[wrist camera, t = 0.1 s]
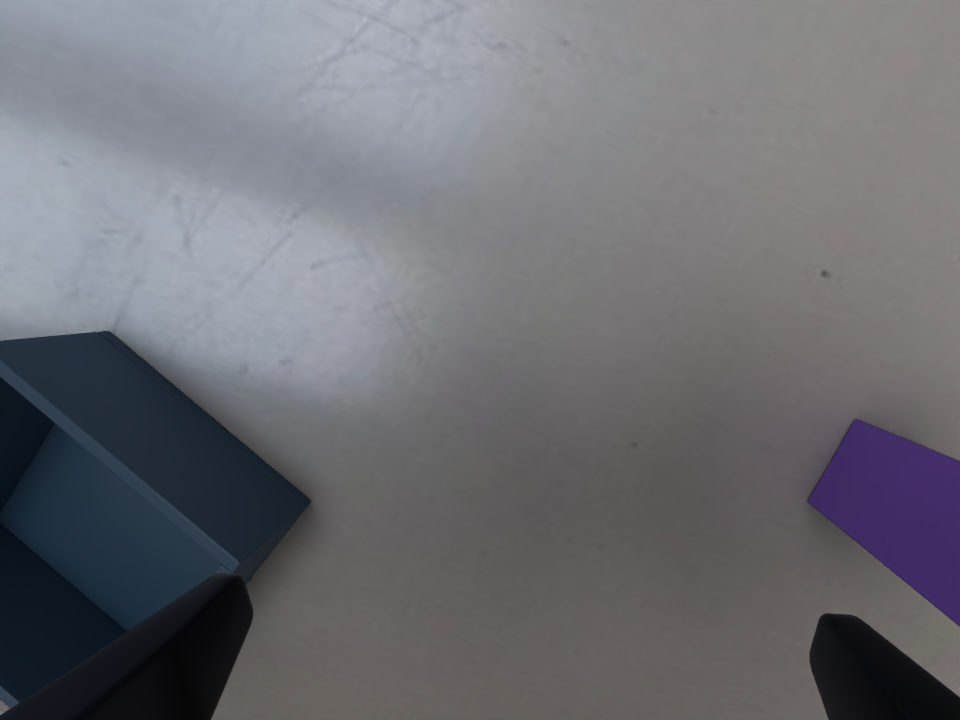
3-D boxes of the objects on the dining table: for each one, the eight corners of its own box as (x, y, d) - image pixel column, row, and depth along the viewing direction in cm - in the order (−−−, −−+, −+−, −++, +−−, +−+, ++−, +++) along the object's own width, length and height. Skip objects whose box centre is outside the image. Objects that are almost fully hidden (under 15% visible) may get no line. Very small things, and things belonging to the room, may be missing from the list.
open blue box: (177, 670, 26) (80, 770, 21) (-5, 515, 27) (-148, 573, 21) (311, 500, 24) (240, 563, 18) (108, 330, 24) (-22, 342, 19)
